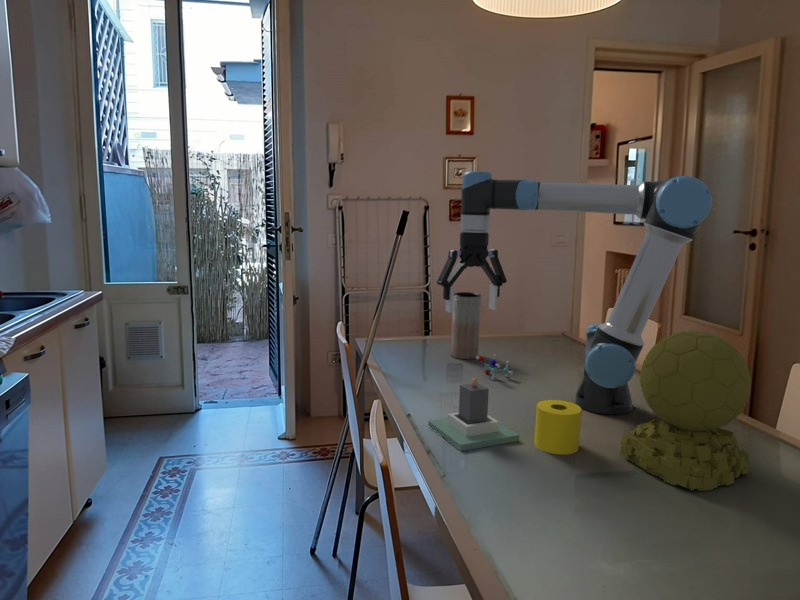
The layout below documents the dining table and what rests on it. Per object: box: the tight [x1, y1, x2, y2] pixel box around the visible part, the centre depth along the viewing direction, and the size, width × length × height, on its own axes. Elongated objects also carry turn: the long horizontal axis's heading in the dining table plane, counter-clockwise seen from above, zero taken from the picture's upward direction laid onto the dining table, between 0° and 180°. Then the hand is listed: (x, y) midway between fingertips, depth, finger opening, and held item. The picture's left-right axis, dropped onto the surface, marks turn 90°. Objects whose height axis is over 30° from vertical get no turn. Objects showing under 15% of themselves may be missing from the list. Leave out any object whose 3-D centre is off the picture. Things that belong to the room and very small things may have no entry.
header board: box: [427, 411, 520, 452], centre depth 147 cm, size 16×16×4 cm
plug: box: [458, 377, 490, 425], centre depth 146 cm, size 5×5×12 cm
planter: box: [450, 291, 482, 360], centre depth 217 cm, size 10×10×23 cm
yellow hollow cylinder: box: [533, 399, 582, 455], centre depth 140 cm, size 10×10×9 cm
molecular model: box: [475, 353, 514, 381], centre depth 193 cm, size 12×10×10 cm
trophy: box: [620, 330, 752, 492], centre depth 129 cm, size 22×22×30 cm
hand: (471, 310), depth 162 cm, fingers open, 13 cm apart
